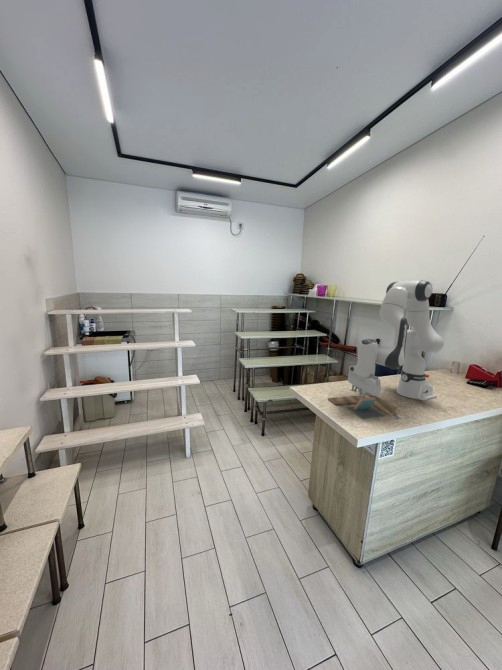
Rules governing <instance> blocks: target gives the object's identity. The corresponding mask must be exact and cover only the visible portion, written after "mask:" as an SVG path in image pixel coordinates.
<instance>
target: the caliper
mask: <svg viewBox="0 0 502 670" xmlns="http://www.w3.org/2000/svg"><path fill="white" fill-rule="evenodd" d="M351 390H354V391H355V392H356V391H358V387H357V386H355V385H353V384H351ZM362 392H363V390H362ZM367 394H368V395H369V396H370V397H374V398H375V397H379V396H373V395H371V394H369V393H367ZM367 394H366V395H367Z"/></svg>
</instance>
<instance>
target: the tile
mask: <svg viewBox="0 0 502 670" xmlns="http://www.w3.org/2000/svg"><path fill="white" fill-rule="evenodd" d="M375 400H376V399H375V398H374V397H372V396H369V397H366V396H365V398H362V397H361V398H360V400H359V401H358V402H357V404H354V406H353V407H354V408H355V410H361V409H369V407H372V405H374V401H375Z"/></svg>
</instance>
